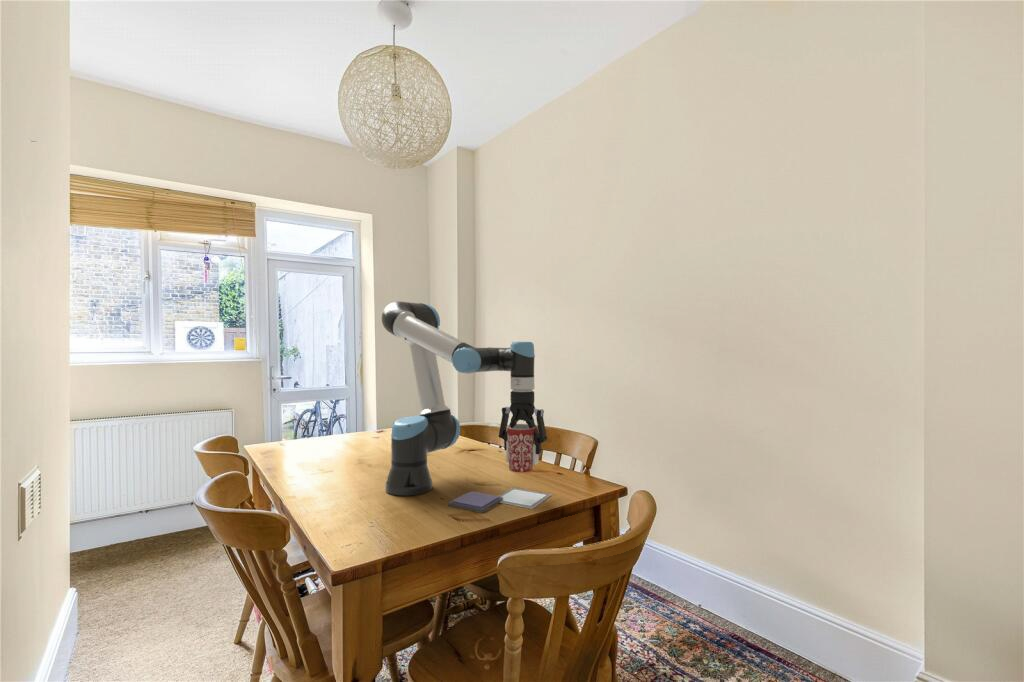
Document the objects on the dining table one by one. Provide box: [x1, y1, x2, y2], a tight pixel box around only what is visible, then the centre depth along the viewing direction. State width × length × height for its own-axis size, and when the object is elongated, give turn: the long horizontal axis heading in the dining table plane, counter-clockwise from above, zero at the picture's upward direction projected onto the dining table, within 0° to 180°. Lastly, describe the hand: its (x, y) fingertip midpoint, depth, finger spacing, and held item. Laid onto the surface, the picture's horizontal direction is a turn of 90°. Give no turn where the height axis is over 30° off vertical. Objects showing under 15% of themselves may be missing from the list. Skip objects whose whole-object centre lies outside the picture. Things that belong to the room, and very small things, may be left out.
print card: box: [498, 487, 552, 510], centre depth 145 cm, size 14×14×1 cm
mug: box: [506, 423, 537, 474], centre depth 145 cm, size 13×9×14 cm
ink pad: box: [447, 491, 503, 514], centre depth 140 cm, size 12×12×1 cm
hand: (522, 462), depth 145 cm, fingers closed on mug, 8 cm apart
